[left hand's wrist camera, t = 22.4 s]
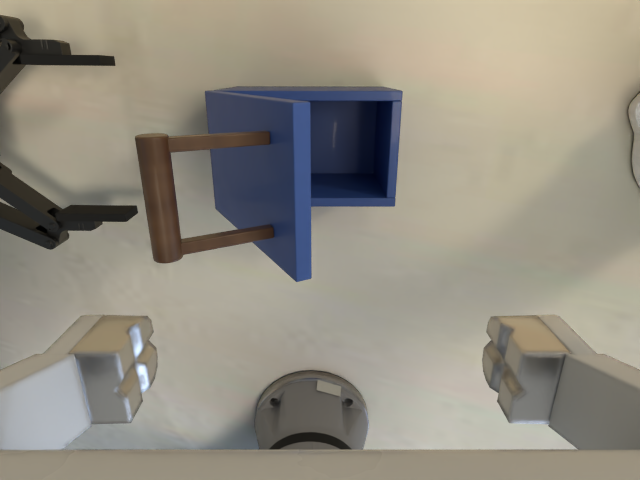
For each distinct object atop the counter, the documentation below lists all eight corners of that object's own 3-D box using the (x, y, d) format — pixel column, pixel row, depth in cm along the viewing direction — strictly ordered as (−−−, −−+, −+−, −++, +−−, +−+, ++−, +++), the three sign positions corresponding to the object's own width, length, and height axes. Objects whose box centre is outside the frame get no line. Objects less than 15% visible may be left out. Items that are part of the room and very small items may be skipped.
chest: (384, 86, 44) (402, 90, 34) (379, 178, 47) (394, 206, 37) (236, 86, 44) (212, 90, 34) (242, 178, 47) (222, 206, 37)
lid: (310, 101, 21) (139, 107, 17) (311, 278, 24) (169, 313, 21) (217, 90, 34) (108, 92, 30) (226, 207, 37) (129, 221, 34)
